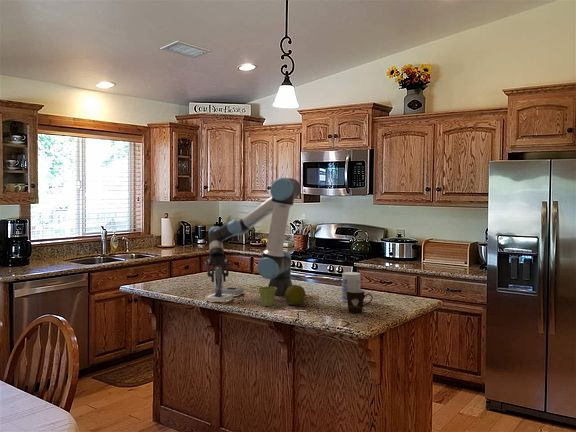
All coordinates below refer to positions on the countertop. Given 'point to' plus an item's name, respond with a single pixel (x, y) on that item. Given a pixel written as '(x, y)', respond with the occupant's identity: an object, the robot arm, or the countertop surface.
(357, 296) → the coffee mug
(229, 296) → the block
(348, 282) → the supplement tub
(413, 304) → the countertop surface
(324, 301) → the countertop surface
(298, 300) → the apple
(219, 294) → the rod
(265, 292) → the plant pot
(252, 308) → the countertop surface
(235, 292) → the socket block
